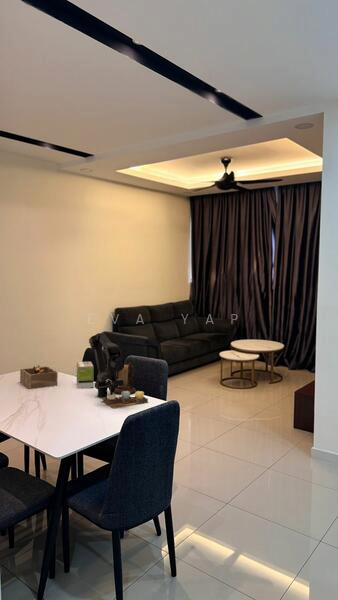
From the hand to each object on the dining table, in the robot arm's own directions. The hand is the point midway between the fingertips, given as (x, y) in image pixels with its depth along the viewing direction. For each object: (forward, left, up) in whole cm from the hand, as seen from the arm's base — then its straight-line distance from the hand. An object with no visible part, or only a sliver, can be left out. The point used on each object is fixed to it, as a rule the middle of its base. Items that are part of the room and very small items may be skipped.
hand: (111, 394), depth 238 cm
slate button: (+4, +7, -3) cm, 9 cm away
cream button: (0, 0, -4) cm, 4 cm away
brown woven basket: (-15, +17, -6) cm, 23 cm away
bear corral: (-63, -21, -6) cm, 67 cm away
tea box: (-45, +4, -6) cm, 45 cm away
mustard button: (+8, +14, -3) cm, 16 cm away
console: (+4, +6, -6) cm, 9 cm away
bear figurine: (-63, -20, -6) cm, 66 cm away
